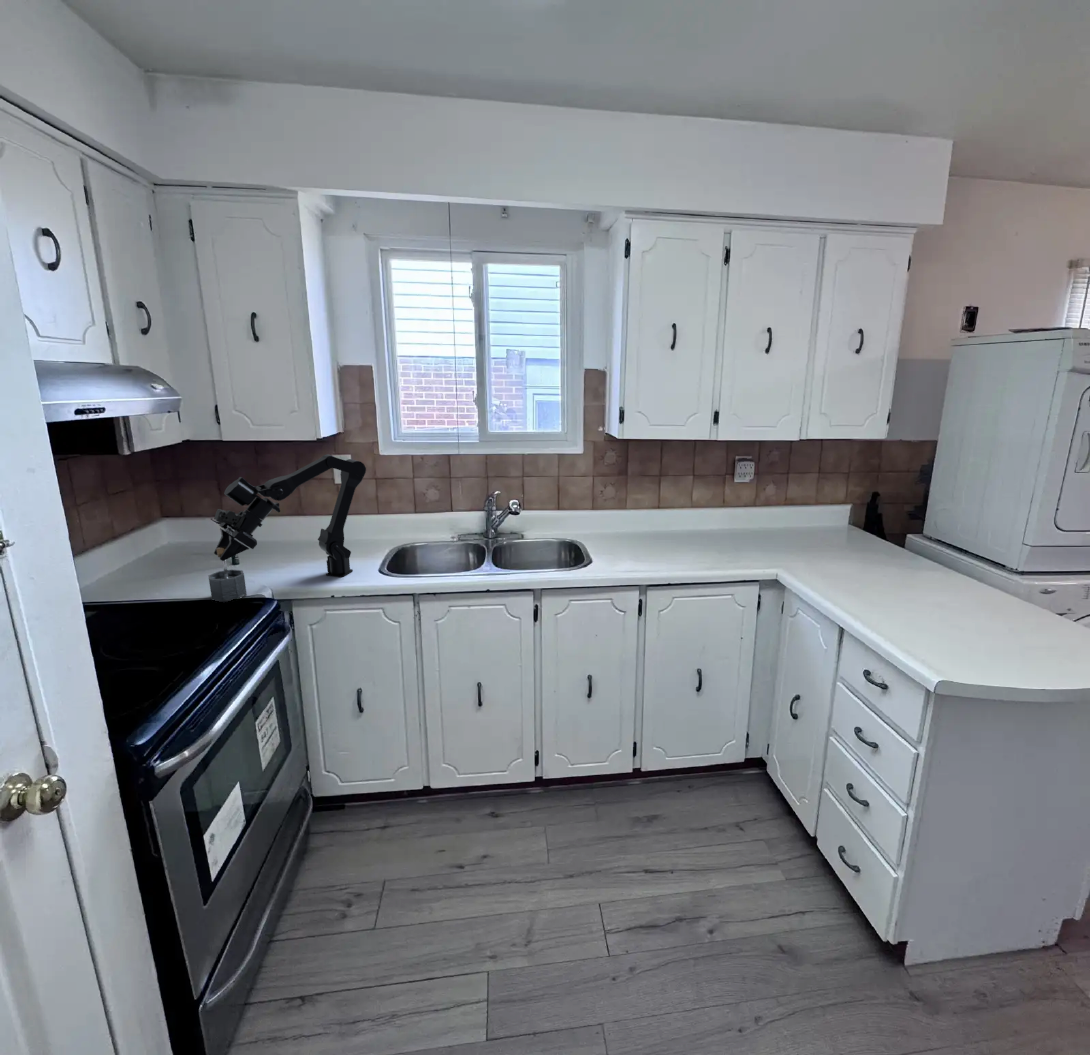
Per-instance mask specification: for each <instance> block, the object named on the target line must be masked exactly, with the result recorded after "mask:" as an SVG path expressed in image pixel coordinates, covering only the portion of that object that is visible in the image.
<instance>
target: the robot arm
mask: <svg viewBox="0 0 1090 1055" xmlns="http://www.w3.org/2000/svg"><path fill="white" fill-rule="evenodd" d="M332 469H335V470H338V471H340V482H341V483H340V487H339V491H338V494H337V498H336V501H335V505H334V509H333V511H332V513H331V514H332V515H331V518H330V522H329V525H328V526H327V527H326V528H320V532H319V536H318V538H317V541H318V546H319V547H320V549H321V550H322V551H324V552H325V554H326V555H328V556H326V557H327V558H326V569H327V573H325V576H330V577H338V578H339V577H340V578H343V577H345V576H347V575H348V574H350V573H351V572H353V571H354V570H353V568H352V569H351V566H350V558H351V554H352V551H351V550H350V549H348V548H347V547H346V546H344V545H345V544H344V543H345V531H344V530H345V529H344V528H345V525H346V522H347V518H348V516H349V512H350V509H351V505H352V501H353V498H354V495H355V491H356V488H357V487H358V486H359V485H360V484H361V483H362V481H363V479H364V477H365V475H366V472H367V467H366V466H365V463H363V462H362V461H360V460H356V459H352V458H349V459H348V458H347V459H346V460H345V459H342V458H339V457H336V456H334V455H332V454H324V455H322V456H321V457H320V458H318V459H316V460H314V461H312V462H310V463H308V464H307V465H305V466H302V467H301V468H299V469H298V470H296V471H293V472H292V473H289V474H286V475H281V476H277V477H275V478H271V479H269V480H267V481H265V483H264V484H260V485H256V486H253V485H252V484H250V483H249V482H248V481H247V480H246V479H245V478H244V477H242V476H239V477H238V479H235V480H234V481H232V483H229V485H228V486H227V487H226V489H225V490H224V492H223V493H224V495H225V496H226V497H228V498H229V499H230V500H232V501H233V502H234V503H236V504H237V505H239V506H241V507H243V506H247V507H246V509H245V510H240V511H239V512H237V513H236V512H235V511H233V510H224V509H220V508H217V510H216V512H215V515H214V518H213V520H214V521H216V522H217V523H220V524H219V525H218V526H219V531H220V534H221V536H220V539H219V541H218V543H217V545H216V548H215V550H214V552H213V554H214V555H216V556H217V548H219V547H227V548H226V549H225V551H224V552H223V554H222V556H221V557H219V560H220V561H221V562H222V561H224V560H226V561H227V560H228V559H230V558H232V557H234V556H236V555H238V554H240V553H243V552H245V551H247V550H250V549H251V550H254V549H255V548H256V546H257V545H258V540H257V539H256V538H255V537H254V535H253V533H254V532H255V531H256V530H257V529H258V527H260V528H261V527H262V526H263V524H262V522H264V521H265V519H266V518H267V517H268V515H269V514H270V513H271V512H272V510H274V511H275V512H277V513H281V508H280V502H279V501H283V500H286V498H288V497H289V496H290V495H291V494H293V493H294V492H295V491H296V489H297V488H298V487H300V486H301V485H303V484H305V483H307V482H308V481H311V480H313V479H314V478H316V477H318V476H320V475H321V474H323V473H325V472H327V471H329V470H332ZM257 494H259V495H257ZM260 495H261V496H262V497H264V498H262V497H261V496H260ZM269 498H270V499H273V500H274V501H276V502H273V501H272V500H270V499H269ZM277 501H278V502H277Z"/></svg>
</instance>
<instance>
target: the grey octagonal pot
mask: <svg viewBox="0 0 1090 1055" xmlns="http://www.w3.org/2000/svg"><path fill="white" fill-rule="evenodd" d="M227 570H228V576H236V577H234V578H228V579H222V580H219V579H218V578H221V577H224V570H221V571H216V572H214V573H211V574H209V575H208V582H209V589H210V598H211V600H212V599H214V600H215V601H219V602H223V603H225V602H226V603H229V602H228V601H231V600H233V599H237V598H240V597H244V598H246V596H247V587H246V579H245V573H244V570H242V569H241V570H240V569H227ZM223 603H222V604H223Z"/></svg>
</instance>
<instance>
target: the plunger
mask: <svg viewBox="0 0 1090 1055" xmlns="http://www.w3.org/2000/svg"><path fill="white" fill-rule="evenodd" d="M226 548H227V547H219V548H217V555H216V556H217V558H220V557H221V556H222V554H223V552H224V551H225V549H226ZM221 562H222V567H223V568H222V569H223V570H222V571H224V577H221V578H218V579H219V580H222V579H228V578H234V577H236V576H228V570H229V569H228V564H227V559H226V560H224V561H222V560H221Z"/></svg>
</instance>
